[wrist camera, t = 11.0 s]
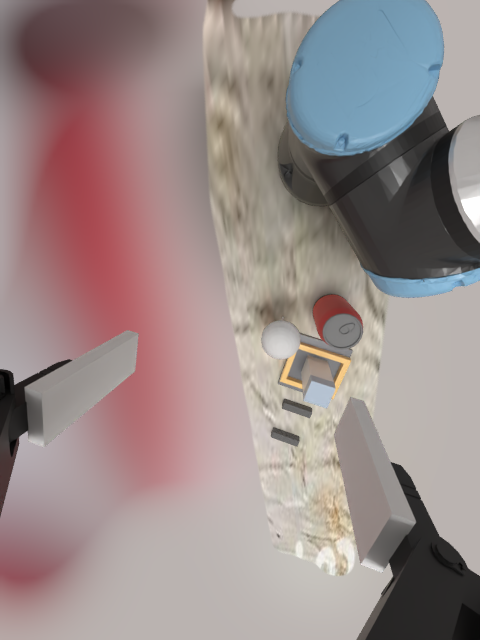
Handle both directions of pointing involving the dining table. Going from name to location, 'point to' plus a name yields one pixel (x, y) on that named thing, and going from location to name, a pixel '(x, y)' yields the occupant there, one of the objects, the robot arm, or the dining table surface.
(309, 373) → the plug
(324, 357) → the panel
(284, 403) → the dark gray parallel bars
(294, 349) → the lollipop
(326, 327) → the beer can
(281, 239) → the dining table surface
